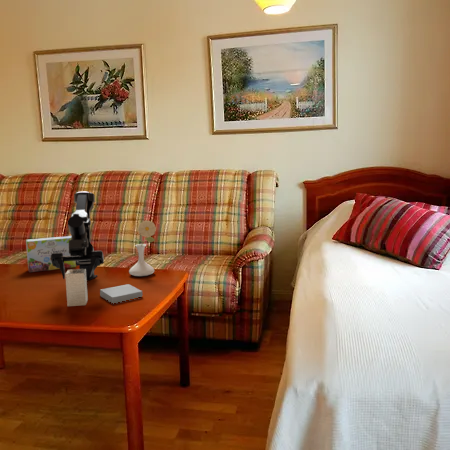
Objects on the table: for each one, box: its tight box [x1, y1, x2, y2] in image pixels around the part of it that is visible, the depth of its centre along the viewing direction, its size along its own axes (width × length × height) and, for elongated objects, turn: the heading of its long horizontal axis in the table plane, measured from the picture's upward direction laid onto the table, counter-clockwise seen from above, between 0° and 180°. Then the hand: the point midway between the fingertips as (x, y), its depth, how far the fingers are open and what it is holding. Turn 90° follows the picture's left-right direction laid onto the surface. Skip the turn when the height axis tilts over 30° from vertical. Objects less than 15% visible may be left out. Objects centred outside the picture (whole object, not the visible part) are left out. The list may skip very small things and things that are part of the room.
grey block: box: [99, 283, 144, 305], centre depth 170 cm, size 12×12×3 cm
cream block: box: [65, 268, 89, 307], centre depth 163 cm, size 6×6×12 cm
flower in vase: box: [128, 220, 157, 277], centre depth 199 cm, size 13×11×25 cm
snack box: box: [25, 235, 77, 273], centre depth 212 cm, size 21×6×15 cm, turn 117°
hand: (76, 277), depth 164 cm, fingers open, 9 cm apart
